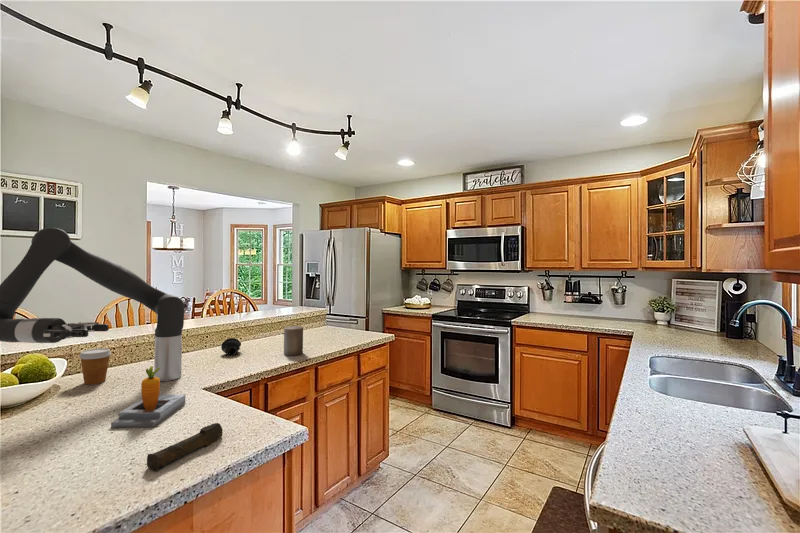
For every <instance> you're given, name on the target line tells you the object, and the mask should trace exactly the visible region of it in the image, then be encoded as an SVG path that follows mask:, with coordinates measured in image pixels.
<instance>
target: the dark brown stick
mask: <svg viewBox="0 0 800 533" xmlns="http://www.w3.org/2000/svg"><path fill="white" fill-rule="evenodd" d="M223 433H224V430H223V427H222V425H221V424H220V423H219V422H215V423H212V424H211V423H210V424H209V425H206V426H203V427H202V428H200V430H199V432H197V433H196V434H194V435H191V436H190V437H187V438H185V439H183V440H180V441H179V442H177V443H175V444H172V445H169V446H167V447H166V448H161V450H159V451H156V452H153V453H148V454H147V457H146V466H147V468H148V469H149V470H150V471H152V472H157V471H158V470H159V469H160V468H164V467H165V466H166V465H168V464H170V463H172V462H173V461H176V460H177V459H179V458H181V457H183V456H186V455H187V454H189V453H191V452H193V451H195V450H197V449H199V448H201V447H209V446H210V445H212V444H214V443H216V442H217V441H218V440H220V438H221V437H222V436H223Z"/></svg>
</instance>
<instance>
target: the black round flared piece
mask: <svg viewBox="0 0 800 533" xmlns="http://www.w3.org/2000/svg"><path fill="white" fill-rule="evenodd" d="M220 345H221V347H220V348H221V351H222V352H223V353H225V354H226V355H228V356H233V355H236V354H237V353H238V352H239V351H240V350H241V345H242V342H241V341H240V340H239V339H238V338H235V337H230V338H227V339H225V340H224V341H222V343H221V344H220Z"/></svg>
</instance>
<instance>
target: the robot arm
mask: <svg viewBox="0 0 800 533" xmlns="http://www.w3.org/2000/svg"><path fill="white" fill-rule="evenodd" d="M54 261H56V262H59V263H61V264H63V265H65V266H68V267H70V268H72V269H73V270H75V271H77V272H78V273H80V274H82V275H83V276H84V277H86V278H88V279H90V280H91V281H93V282H95V283H97V284H98V285H99V286H101V287H104V288H106V289H107V290H109V291H111V292H113V293H116V294H118V295H120V296H123V297H124V298H125V297H126V298H128V299H131V300H133V301H136V302H138V303H139V304H142V305H143V306H145V307H146V308H148V309H149V310H151V311H152V312H154V313H155V314H156V315H157V318H156V327H155V330H154V355H153V356H154V357H153V358H154V361H153V362H154V363H153V364H154V365H153V366H154V367H153V371H155V370H156V369H158V368H160V370H158V371H157V372H156V373H155V375H154V377H158V378H160V382H169V381H174V380H178V379H180V378H181V377H182V363H183V362H182V357H183V353H182V348H183V347H182V343H183V342H182V341H183V340H182V337H183V328H184V324H185V304H184V302H183V300H182V299H181V298H180V297H178V296H176V295H173V294H168V293H166V292H165V291H163V290H160V289H157V288H155V287H154V286H152V285H150V284H148V283H147V282H146V281H145V280H144V279H143V278H142V277H140V276H139V275H137V274H135V272H133V271H131V270H130V269H128V268H127V267H125V266H123V265H121V264H119V263H117V262H115V261H113V260H111V259H109V258H105V257H103V256H100V255H98V254H95V253H92V252H90V251H88V250H86V249H84V248H83V247H81V246H80V245H78V244H76V242H73V241H72V240H71V238H70V235H69V234H68V233H67V232H66V231H65V230H63V229H61V228H58V227H45V228H42V229H40V230H38V231H37V232H36V233H35V234H33V237H32V238H31V244H30V246H29V248H28V250H27V251H26V253H25V255H24V257H23V258H22V259H21V261H20V262H19V264H17V266H16V267H15V268H14V269H13V270H12V272H10V273H9V274H8V276H6V278H5V279H4V280H3V281H1V283H0V342H3V343H5V342H6V343H27V344H56V343H59V342H61V341H62V340H67V339H72V338H87V337H89V333H94V332H108V331H109V329H110V328H109V326H110V325H109V324H107V323H99V322H97V321H95V322H81V321H80V322H68V323H67V322H66V321H65V320H64V319H62V318H61V317H60V318H59V317H34V318H33V317H32V318H14V317H15V314H16V311H17V310H18V308H19V307H20V306H21V305H22V304H23V302H24V301H25V300H26V298H27V297H28V296H29V294H30V292H31V291H32V290H33V289H34V287H35V286H36V284H37V282H38V281H39V279H40V278H41V276H42V275H43V274H44V273H45V271H46V270H47V269H48V268H49V266H50V265H51V264H53V262H54Z"/></svg>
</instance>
